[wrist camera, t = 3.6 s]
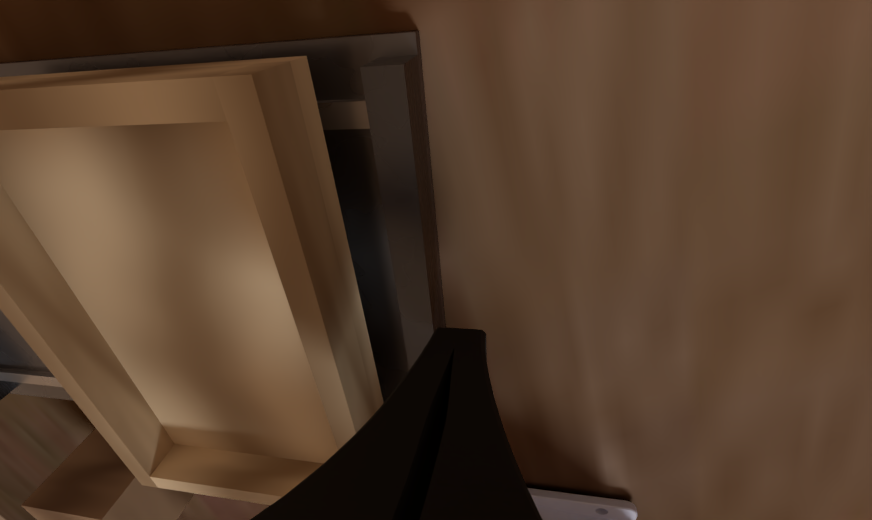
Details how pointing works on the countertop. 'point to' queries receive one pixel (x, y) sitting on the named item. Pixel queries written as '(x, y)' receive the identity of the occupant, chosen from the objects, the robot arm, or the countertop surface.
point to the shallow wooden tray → (187, 268)
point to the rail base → (354, 179)
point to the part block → (101, 489)
